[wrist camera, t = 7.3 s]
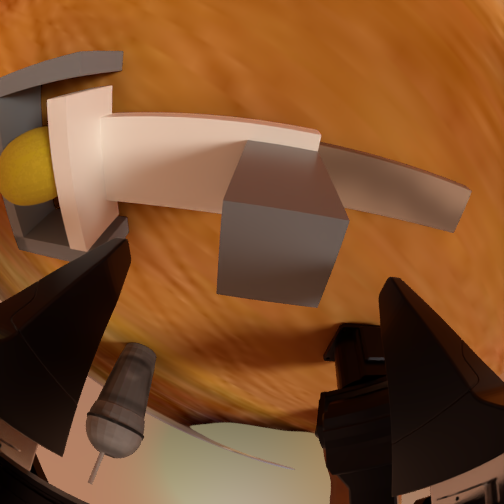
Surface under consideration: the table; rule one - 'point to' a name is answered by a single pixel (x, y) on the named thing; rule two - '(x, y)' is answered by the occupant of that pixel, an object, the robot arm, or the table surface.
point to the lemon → (28, 169)
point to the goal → (29, 117)
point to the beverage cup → (122, 405)
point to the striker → (204, 188)
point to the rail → (394, 188)
